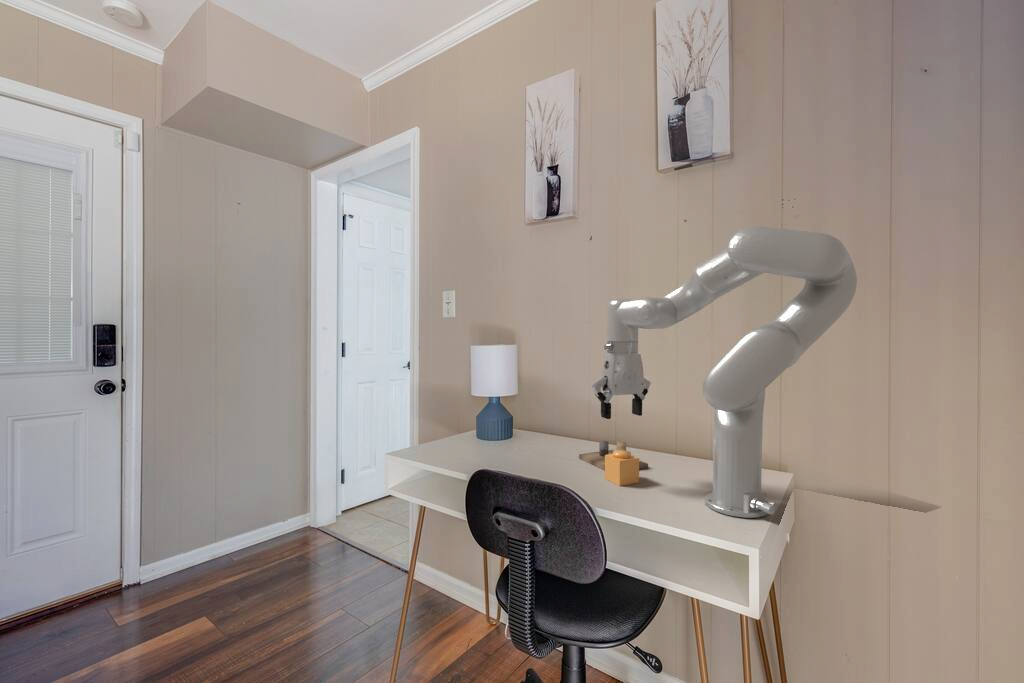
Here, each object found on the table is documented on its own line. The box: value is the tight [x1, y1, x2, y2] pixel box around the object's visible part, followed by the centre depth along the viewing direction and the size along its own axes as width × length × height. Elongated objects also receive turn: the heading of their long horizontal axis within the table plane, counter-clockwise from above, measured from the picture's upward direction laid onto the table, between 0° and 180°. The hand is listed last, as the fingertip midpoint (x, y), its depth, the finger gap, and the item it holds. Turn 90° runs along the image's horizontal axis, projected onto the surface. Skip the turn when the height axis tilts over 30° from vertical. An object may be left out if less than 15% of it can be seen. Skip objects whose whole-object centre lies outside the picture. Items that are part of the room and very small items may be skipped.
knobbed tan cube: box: [604, 449, 640, 487], centre depth 118 cm, size 6×6×7 cm
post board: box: [578, 440, 649, 471], centre depth 133 cm, size 16×12×7 cm
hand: (621, 416), depth 118 cm, fingers open, 9 cm apart
